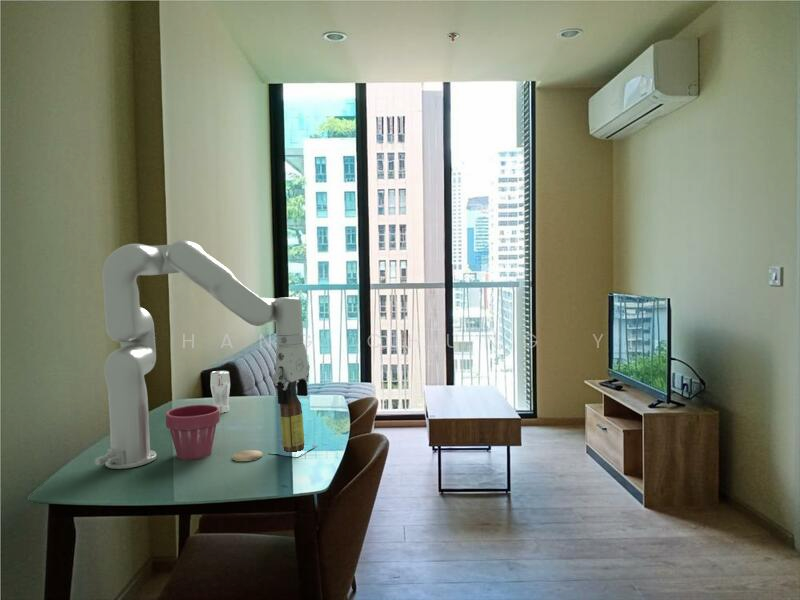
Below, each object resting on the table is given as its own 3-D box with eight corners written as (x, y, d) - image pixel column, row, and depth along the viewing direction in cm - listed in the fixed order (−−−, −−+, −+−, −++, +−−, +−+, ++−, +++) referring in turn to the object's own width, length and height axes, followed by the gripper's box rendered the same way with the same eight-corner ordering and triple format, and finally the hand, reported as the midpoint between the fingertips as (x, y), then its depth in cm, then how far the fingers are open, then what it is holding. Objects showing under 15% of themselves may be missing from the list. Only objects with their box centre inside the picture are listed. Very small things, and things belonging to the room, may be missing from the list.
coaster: (250, 463, 141) (249, 461, 141) (226, 460, 144) (226, 458, 144) (268, 454, 148) (268, 451, 148) (245, 451, 151) (245, 449, 151)
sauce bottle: (306, 445, 154) (304, 378, 153) (302, 452, 148) (300, 383, 147) (283, 446, 154) (281, 379, 153) (279, 453, 147) (277, 383, 147)
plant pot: (231, 449, 153) (229, 405, 153) (197, 465, 140) (195, 418, 139) (192, 444, 158) (190, 402, 157) (155, 460, 145) (153, 414, 144)
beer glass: (210, 410, 198) (209, 371, 198) (229, 408, 201) (228, 369, 201) (212, 415, 192) (210, 374, 191) (232, 412, 195) (230, 372, 194)
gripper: (283, 344, 140) (286, 408, 141) (317, 336, 156) (320, 393, 157) (260, 344, 143) (263, 406, 144) (295, 336, 159) (298, 392, 160)
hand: (293, 399), depth 150 cm, fingers open, 9 cm apart
